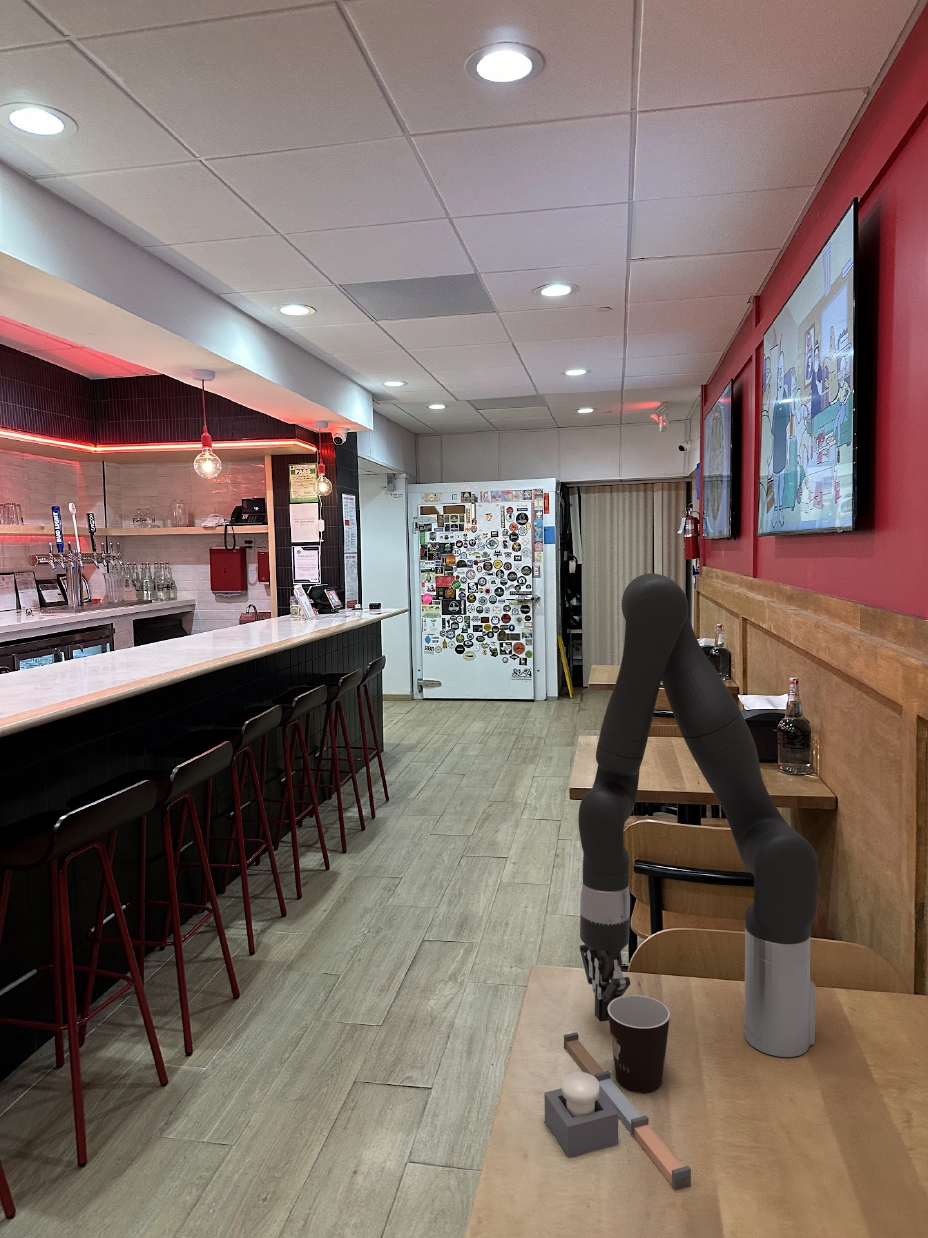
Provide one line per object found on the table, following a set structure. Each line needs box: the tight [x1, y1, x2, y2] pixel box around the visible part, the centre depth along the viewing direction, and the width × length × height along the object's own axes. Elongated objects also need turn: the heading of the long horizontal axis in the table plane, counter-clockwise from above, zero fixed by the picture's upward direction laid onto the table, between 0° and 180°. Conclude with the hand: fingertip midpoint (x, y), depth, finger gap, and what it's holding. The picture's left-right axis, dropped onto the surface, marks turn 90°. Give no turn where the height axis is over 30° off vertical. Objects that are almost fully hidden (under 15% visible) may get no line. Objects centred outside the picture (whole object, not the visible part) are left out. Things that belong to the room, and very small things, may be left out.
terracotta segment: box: [630, 1115, 692, 1191], centre depth 102 cm, size 2×10×2 cm, turn 19°
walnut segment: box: [563, 1031, 605, 1077], centre depth 121 cm, size 2×10×2 cm, turn 18°
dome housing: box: [543, 1087, 619, 1159], centre depth 106 cm, size 7×7×4 cm
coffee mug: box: [608, 994, 671, 1094], centre depth 118 cm, size 12×9×10 cm
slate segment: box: [595, 1070, 642, 1133], centre depth 111 cm, size 2×10×2 cm, turn 19°
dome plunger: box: [561, 1071, 599, 1118], centre depth 106 cm, size 5×5×6 cm
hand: (602, 1018), depth 129 cm, fingers closed
